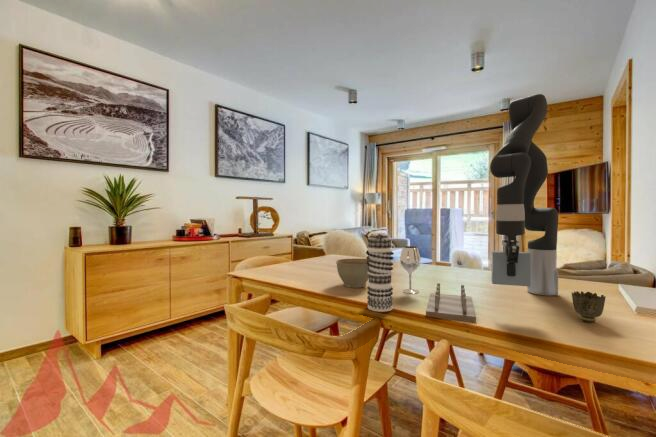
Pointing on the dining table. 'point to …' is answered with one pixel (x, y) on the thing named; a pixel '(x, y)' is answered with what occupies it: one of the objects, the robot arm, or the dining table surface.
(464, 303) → the dish rack
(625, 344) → the dining table surface
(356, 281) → the planter bowl
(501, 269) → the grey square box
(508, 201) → the robot arm
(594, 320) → the cup
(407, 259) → the wineglass
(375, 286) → the decorative candle
